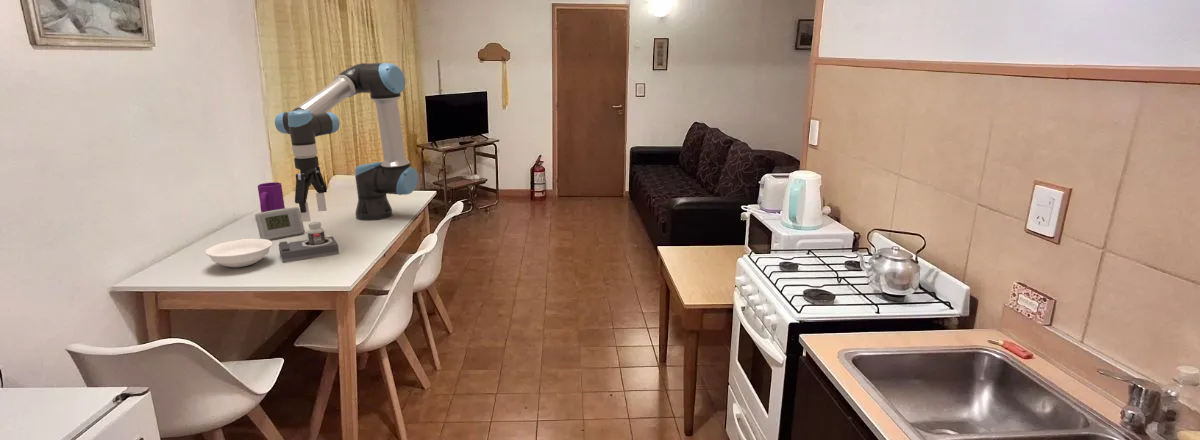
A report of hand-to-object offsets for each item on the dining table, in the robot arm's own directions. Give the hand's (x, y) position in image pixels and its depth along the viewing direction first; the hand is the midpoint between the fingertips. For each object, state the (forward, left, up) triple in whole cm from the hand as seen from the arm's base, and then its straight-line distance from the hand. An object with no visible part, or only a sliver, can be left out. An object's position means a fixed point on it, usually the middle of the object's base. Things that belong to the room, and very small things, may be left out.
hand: (314, 215), depth 225 cm
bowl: (+24, +1, -14) cm, 28 cm away
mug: (+11, -60, -14) cm, 62 cm away
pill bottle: (0, 0, -13) cm, 12 cm away
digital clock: (+10, -29, -14) cm, 33 cm away
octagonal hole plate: (+3, 0, -13) cm, 14 cm away
